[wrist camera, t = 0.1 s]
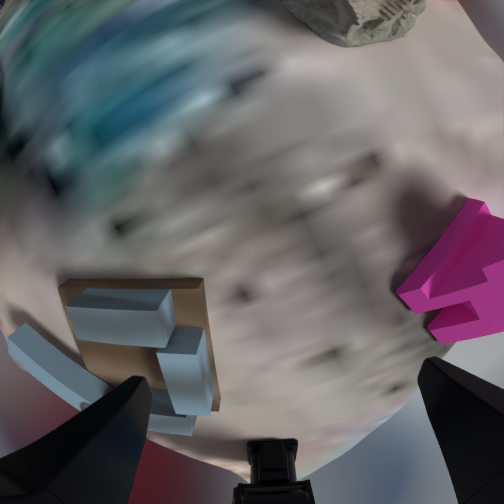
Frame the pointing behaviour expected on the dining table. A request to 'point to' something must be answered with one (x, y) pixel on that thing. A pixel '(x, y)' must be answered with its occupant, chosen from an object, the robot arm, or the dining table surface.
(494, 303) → the magenta blocky figure
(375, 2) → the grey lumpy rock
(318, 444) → the dining table surface
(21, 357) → the folding leg
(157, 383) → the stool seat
